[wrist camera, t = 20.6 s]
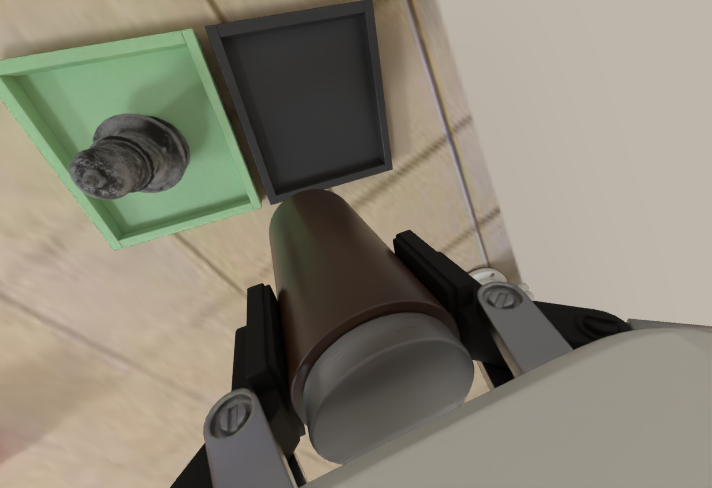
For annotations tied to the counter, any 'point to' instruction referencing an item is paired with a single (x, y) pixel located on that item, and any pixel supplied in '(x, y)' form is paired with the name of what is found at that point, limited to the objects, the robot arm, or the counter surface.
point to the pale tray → (134, 96)
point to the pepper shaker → (358, 331)
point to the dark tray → (307, 95)
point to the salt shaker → (131, 157)
